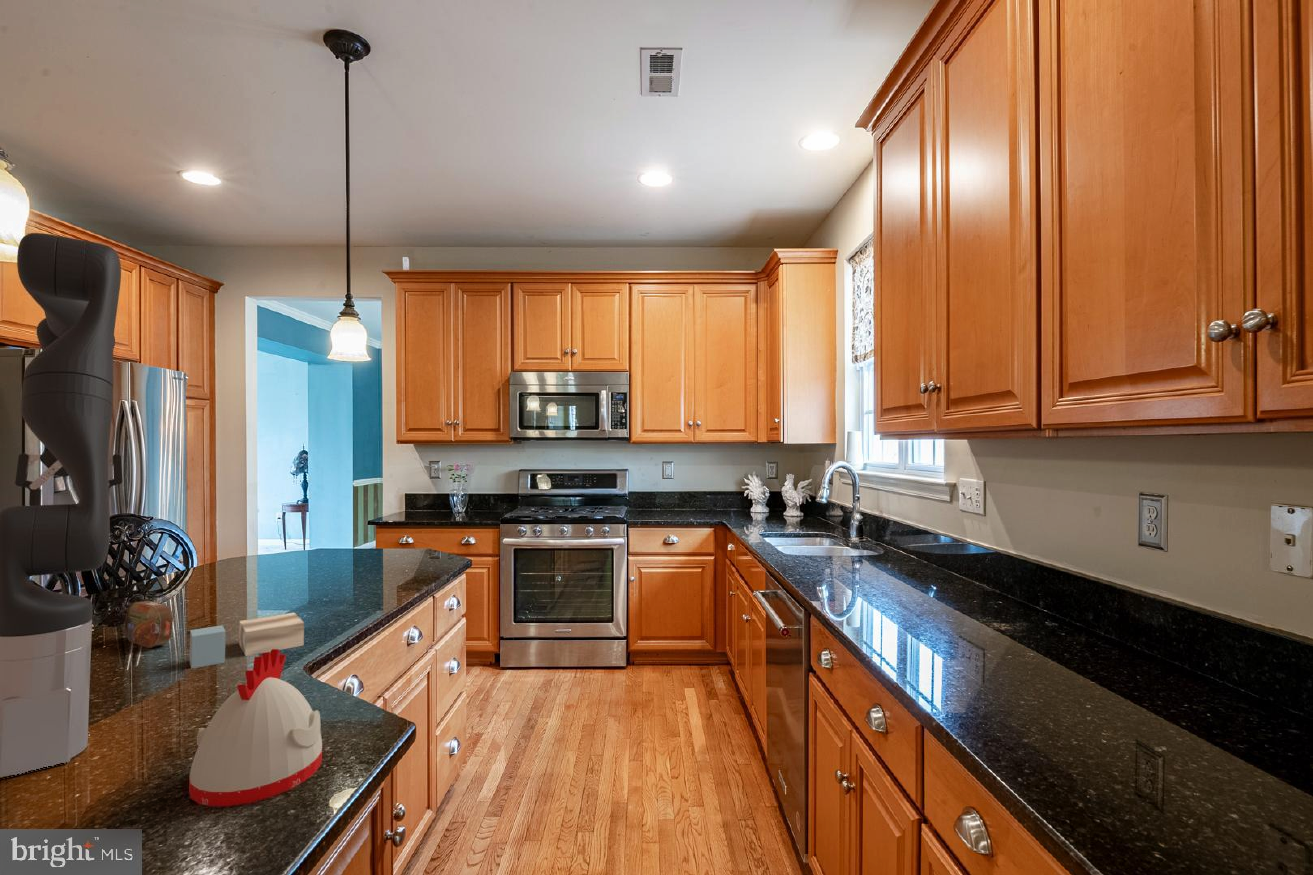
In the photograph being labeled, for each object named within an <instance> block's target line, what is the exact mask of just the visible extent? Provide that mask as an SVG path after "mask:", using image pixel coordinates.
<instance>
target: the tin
mask: <svg viewBox="0 0 1313 875" xmlns="http://www.w3.org/2000/svg"><path fill="white" fill-rule="evenodd" d="M173 622H174V615H173V611H172V610H171V607H169V606H168V605H165V604H161V603H157V602H153V601H148V600H147V601H146V600H145V601H135V602H132V603H131V604H130V605H129V606H128V608H127V611H126V614H125V618H124V629H125V634H126V638H127V640H128V641H129V642H130V643H131V642H132V643H131V644H134V645H139V646H142V647H144V648H146V649H147V648H148V649H151V648H155V647H159V646H160V647H161V646H164V645H166V644H167V643H168V642H169V641H170V639H171V638H172V632H173V626H174V625H173V624H174V623H173Z"/></svg>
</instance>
